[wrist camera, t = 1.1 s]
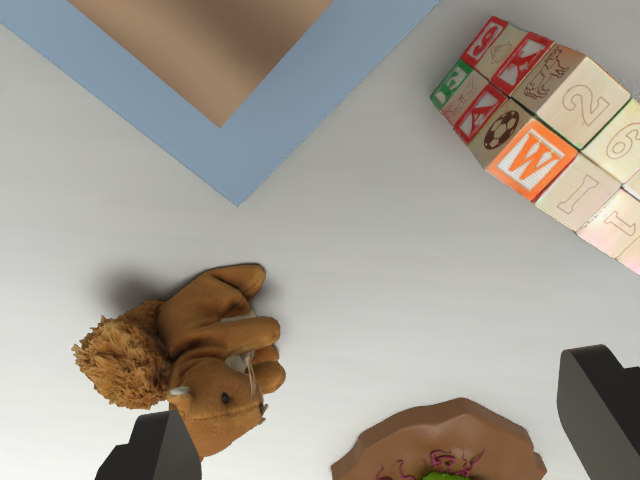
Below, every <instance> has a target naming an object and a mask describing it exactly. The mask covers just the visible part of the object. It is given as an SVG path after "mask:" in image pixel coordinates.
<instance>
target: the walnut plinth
mask: <svg viewBox="0 0 640 480" xmlns="http://www.w3.org/2000/svg"><path fill="white" fill-rule="evenodd" d="M67 1H68V2H69V3H71V4H72V5H73V6H74V7H75V8H77V9H78V10H79V11H80V12H81V13H83V14H84V15H85V16H86V17H87V18H88V19H90V20H91V21H92V22H93V23H94V24H96V25H97V26H98V27H99V28H100V29H102V30H103V31H104V32H105V33H106V34H108V35H109V36H110V37H111V38H112V39H114V40H115V41H116V42H117V43H118V44H119V45H121V46H122V47H123V48H124V49H125V50H127V51H128V52H129V53H130V54H131V55H133V56H134V57H135V58H136V59H137V60H139V61H140V62H141V63H142V64H143V65H144V66H146V67H147V68H148V69H149V70H150V71H152V72H153V73H154V74H155V75H156V76H158V77H159V78H160V79H161V80H162V81H164V82H165V83H166V84H167V85H168V86H170V87H171V88H172V89H173V90H174V91H175V92H177V93H178V94H179V95H180V96H181V97H183V98H184V99H185V100H186V101H187V102H189V103H190V104H191V105H192V106H193V107H195V108H196V109H197V110H198V111H199V112H201V113H202V114H203V115H204V116H205V117H206V118H208V119H209V120H210V121H211V122H212V123H214V124H215V125H216V126H217V127H218V128H221V126H222V125H223V124H224V123H225V122H226V121H227V120H228V119H229V117H230V116H231V115H232V114H233V113H234V112H235V111H236V110H237V109H238V107H239V106H240V105H241V104H242V103H243V102H244V101H245V100H246V98H247V97H248V96H249V95H250V94H251V93H252V92H253V91H254V89H255V88H256V87H257V86H258V85H259V84H260V83H261V82H262V81H263V79H264V78H265V77H266V76H267V75H268V74H269V73H270V72H271V70H272V69H273V68H274V67H275V66H276V65H277V64H278V63H279V61H280V60H281V59H282V58H283V57H284V56H285V55H286V54H287V52H288V51H289V50H290V49H291V48H292V47H293V46H294V45H295V44H296V42H297V41H298V40H299V39H300V38H301V37H302V36H303V35H304V33H305V32H306V31H307V30H308V29H309V28H310V27H311V26H312V24H313V23H314V22H315V21H316V20H317V19H318V18H319V17H320V16H321V14H322V13H323V12H324V11H325V10H326V9H327V8H328V7H329V5H330V4H331V3H332V2H333V1H334V0H67Z"/></svg>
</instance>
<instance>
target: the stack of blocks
mask: <svg viewBox="0 0 640 480" xmlns="http://www.w3.org/2000/svg"><path fill="white" fill-rule="evenodd" d="M430 99H431V100H432V102H433V103H434V105H435V106H436V108H437V109H438V111H439V112H440V113H442V114H443V115H444V116H445V117H446V118H447V120H448V121H449V122H450V123H451V125H452V126H454V127H453V130H454V131H455V132H456V133H457V135H458V136H459V137H460V138H461V140H462V141H463V142H464V143H465V145H466V146H467V147H468V148H469V149H470V150H471V152H472V153H473V154H474V156H475V157H476V159H477V160H478V161H479V163H480V164H481V165H482V167H483V168H484V169H485V170H486V171H487V172H488V173H490V174H491V175H492V176H494V177H495V178H497V179H498V180H500V181H501V182H503V183H504V184H506V185H507V186H509V187H510V188H512V189H513V190H514V191H516V192H517V193H519V194H520V195H522V196H523V197H525V198H526V199H528V200H530V202H531V203H532V204H534V205H535V206H536V207H537V208H539V209H540V210H542V211H543V212H545V213H546V214H548V215H549V216H551V217H553V218H554V219H556V220H557V221H559V222H560V223H562V224H563V225H565V226H566V227H568V228H569V229H571V230H572V231H573V232H574V233H575V234H576V235H577V236H578V237H580V238H581V239H583V240H584V241H586V242H588V243H589V244H591V245H592V246H594V247H595V248H597V249H598V250H600V251H601V252H603V253H604V254H606V255H608V256H609V257H611V258H614V259H616V260H617V261H618V262H619V263H621V264H622V265H624V266H625V267H627V268H628V269H630V270H632V271H633V272H635V273H636V274H638V275H639V276H640V103H639V102H638V101H637V100H635V99H634V98H632V97H630V93H629V92H628V91H627V90H626V89H624V88H623V87H622V86H621V85H620V84H619V83H618V82H617V81H616V80H614V79H613V78H612V77H611V76H610V75H609V74H608V73H607V72H606V71H604V70H603V69H602V68H601V67H600V66H599V65H598V64H597V63H595V62H594V61H593V60H592V59H591V58H589V57H588V56H586V55H584V54H582V53H580V52H577V51H574V50H572V49H570V48H567V47H565V46H562V45H559V44H557V43H556V42H554V41H552V40H550V39H548V38H546V37H543V36H541V35H538V34H535V33H533V32H528V31H526V30H523V29H520V28H518V27H516V26H514V25H513V24H511V23H509V22H507V21H504V20H501V19H499V18H498V17H495V16H493V17H492V18H491V19H490V20H489V21H488V23H487V24H486V25H485V27H484V28H483V29H482V30H481V32H480V33H479V34H478V35H477V37H476V38H475V39H474V41H473V42H472V43H471V45H470V46H469V47H468V48H467V50H466V51H465V52H464V53H463V55H462V56H461V58H460V60H459V61H458V62H457V64H456V65H455V66H454V67H453V69H452V70H451V71H450V73H449V74H448V75H447V76H446V78H445V79H444V80H443V81H442V83H441V84H440V85H439V86H438V88H437V89H436V90H435V92H434V93H433V94H432V95H431V96H430Z"/></svg>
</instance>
